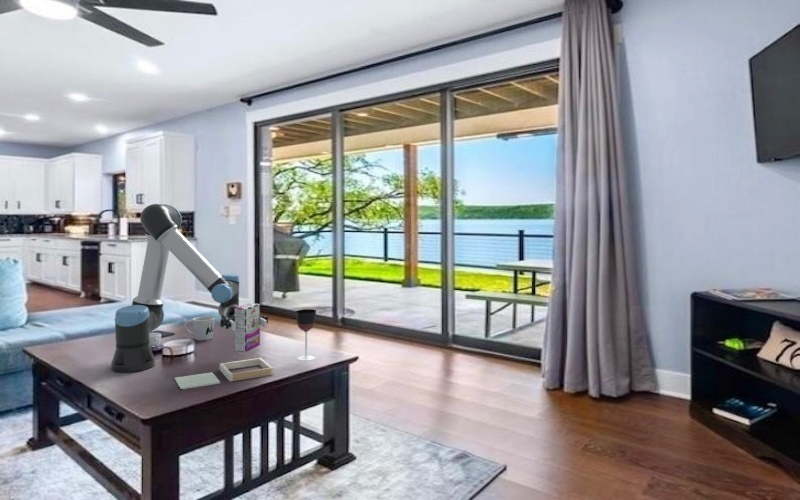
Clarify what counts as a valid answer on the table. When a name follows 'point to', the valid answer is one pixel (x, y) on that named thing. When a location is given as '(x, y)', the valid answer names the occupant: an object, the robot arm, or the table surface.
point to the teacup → (154, 339)
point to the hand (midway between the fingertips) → (250, 325)
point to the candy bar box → (247, 327)
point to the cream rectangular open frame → (247, 374)
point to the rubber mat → (197, 380)
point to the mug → (202, 327)
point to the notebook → (163, 333)
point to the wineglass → (306, 326)
